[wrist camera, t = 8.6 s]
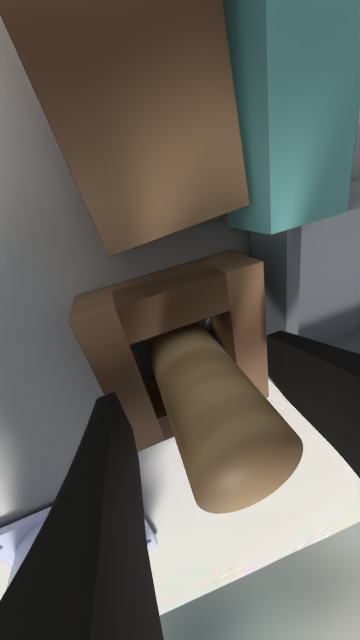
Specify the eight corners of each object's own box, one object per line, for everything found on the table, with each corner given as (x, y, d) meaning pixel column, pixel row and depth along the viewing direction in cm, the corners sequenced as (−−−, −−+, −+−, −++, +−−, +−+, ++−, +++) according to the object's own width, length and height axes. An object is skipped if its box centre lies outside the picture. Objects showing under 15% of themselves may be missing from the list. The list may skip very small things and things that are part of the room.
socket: (242, 367, 14) (268, 396, 12) (128, 412, 13) (134, 453, 11) (230, 250, 11) (263, 261, 9) (75, 296, 10) (68, 322, 8)
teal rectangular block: (287, 210, 11) (346, 212, 8) (228, 227, 10) (271, 234, 8) (290, -29, 8) (390, -153, 5) (202, -21, 7) (262, -153, 4)
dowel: (206, 352, 13) (300, 480, 7) (153, 371, 12) (205, 528, 6) (197, 302, 11) (306, 410, 5) (137, 322, 11) (182, 464, 5)
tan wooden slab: (217, 205, 10) (249, 204, 8) (106, 245, 10) (108, 257, 7) (155, -115, 6) (185, -281, 4) (-38, -81, 6) (-121, -256, 4)
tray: (376, 321, 16) (419, 339, 14) (258, 368, 15) (285, 396, 12) (410, 165, 12) (481, 156, 10) (248, 209, 10) (287, 210, 8)
